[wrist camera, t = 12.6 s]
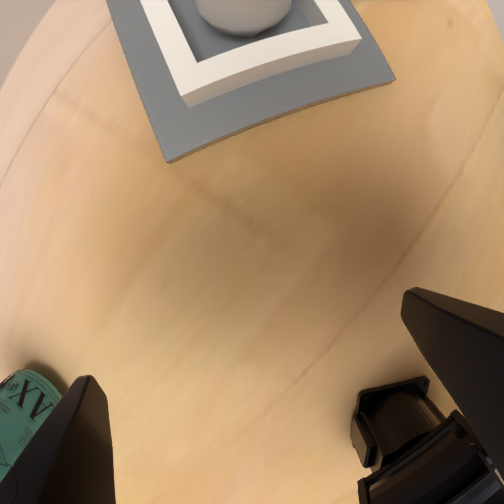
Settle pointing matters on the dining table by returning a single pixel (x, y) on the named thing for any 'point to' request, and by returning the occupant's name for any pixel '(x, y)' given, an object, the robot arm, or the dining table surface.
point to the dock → (240, 67)
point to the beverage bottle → (22, 412)
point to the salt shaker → (243, 15)
